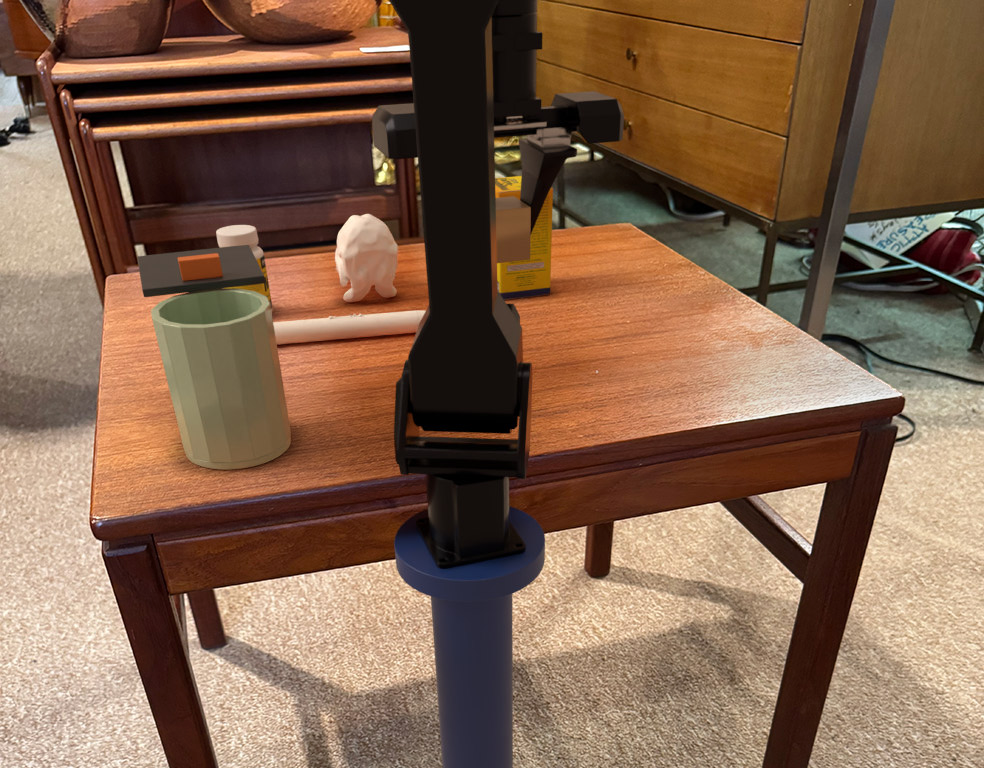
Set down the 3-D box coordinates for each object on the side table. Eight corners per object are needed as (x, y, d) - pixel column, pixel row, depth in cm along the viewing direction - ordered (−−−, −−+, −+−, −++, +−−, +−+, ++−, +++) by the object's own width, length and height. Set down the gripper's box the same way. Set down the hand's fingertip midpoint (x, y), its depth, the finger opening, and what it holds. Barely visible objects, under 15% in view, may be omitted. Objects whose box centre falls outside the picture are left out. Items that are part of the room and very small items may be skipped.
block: (530, 259, 77) (531, 207, 74) (484, 264, 76) (483, 211, 73) (514, 247, 80) (514, 195, 77) (469, 251, 79) (468, 200, 76)
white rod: (441, 326, 95) (440, 302, 94) (445, 333, 94) (444, 309, 92) (263, 341, 93) (259, 317, 91) (263, 349, 91) (259, 325, 90)
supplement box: (483, 284, 105) (481, 178, 99) (533, 279, 107) (534, 173, 100) (499, 301, 101) (498, 191, 94) (551, 295, 102) (554, 186, 96)
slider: (265, 283, 72) (260, 254, 70) (144, 297, 69) (136, 268, 68) (250, 251, 78) (245, 225, 77) (138, 263, 76) (132, 236, 75)
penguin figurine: (337, 221, 94) (316, 206, 104) (348, 309, 99) (327, 287, 108) (398, 215, 96) (372, 200, 105) (406, 302, 100) (380, 280, 110)
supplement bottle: (278, 317, 98) (265, 232, 93) (234, 324, 97) (217, 238, 91) (266, 303, 102) (253, 221, 96) (223, 310, 100) (207, 227, 95)
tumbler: (299, 459, 73) (277, 317, 66) (189, 477, 71) (154, 333, 64) (282, 416, 79) (260, 282, 72) (181, 431, 77) (148, 296, 70)
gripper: (575, 1, 75) (568, 210, 85) (348, 11, 71) (368, 230, 81) (634, 11, 67) (618, 241, 77) (380, 23, 63) (398, 265, 72)
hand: (499, 243), depth 77 cm, fingers closed on block, 4 cm apart
